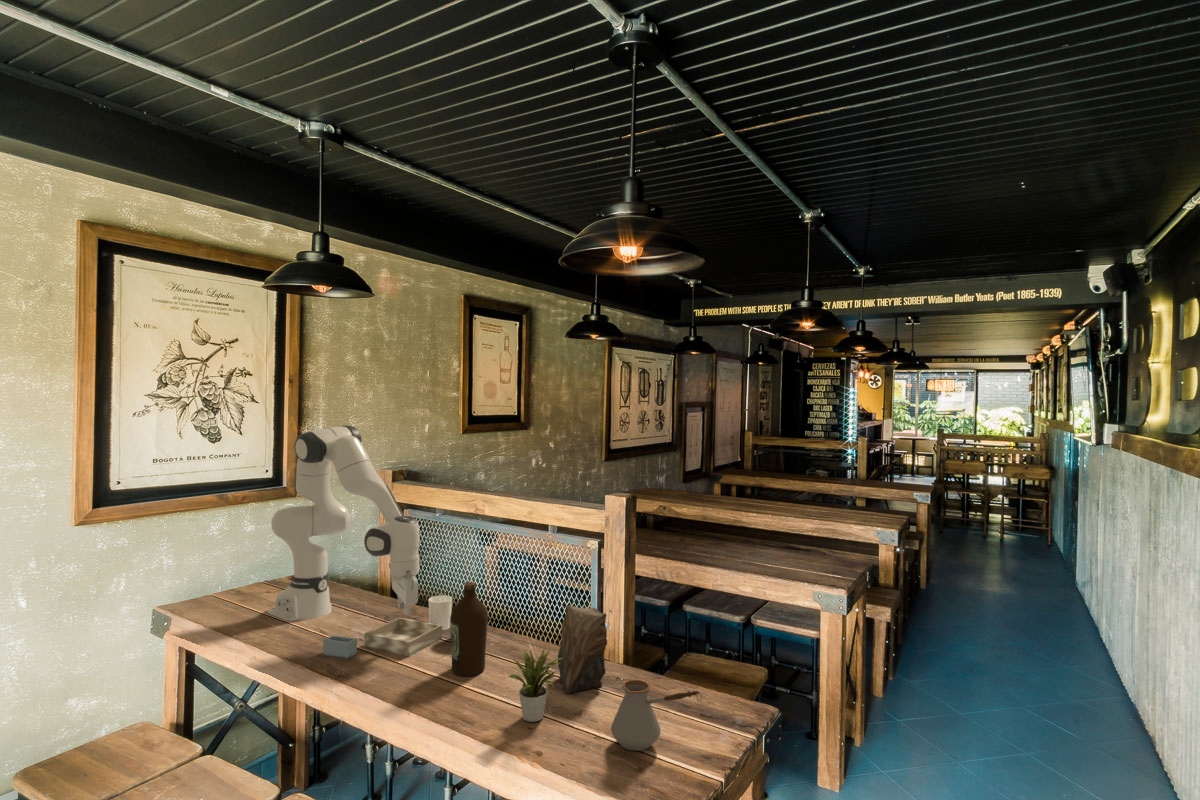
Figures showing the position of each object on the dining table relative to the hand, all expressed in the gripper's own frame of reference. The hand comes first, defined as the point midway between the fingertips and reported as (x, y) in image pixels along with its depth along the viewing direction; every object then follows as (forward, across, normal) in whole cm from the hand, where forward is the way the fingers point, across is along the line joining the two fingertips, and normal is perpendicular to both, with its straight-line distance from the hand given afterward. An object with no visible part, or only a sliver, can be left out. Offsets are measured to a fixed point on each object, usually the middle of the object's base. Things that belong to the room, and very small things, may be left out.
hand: (404, 611), depth 199 cm
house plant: (+11, -63, -16) cm, 66 cm away
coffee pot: (+12, -88, -35) cm, 96 cm away
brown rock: (+11, -51, -37) cm, 64 cm away
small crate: (+10, 0, +19) cm, 22 cm away
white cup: (+11, +8, -14) cm, 20 cm away
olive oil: (+11, -28, -12) cm, 33 cm away
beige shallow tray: (+10, 0, 0) cm, 10 cm away
